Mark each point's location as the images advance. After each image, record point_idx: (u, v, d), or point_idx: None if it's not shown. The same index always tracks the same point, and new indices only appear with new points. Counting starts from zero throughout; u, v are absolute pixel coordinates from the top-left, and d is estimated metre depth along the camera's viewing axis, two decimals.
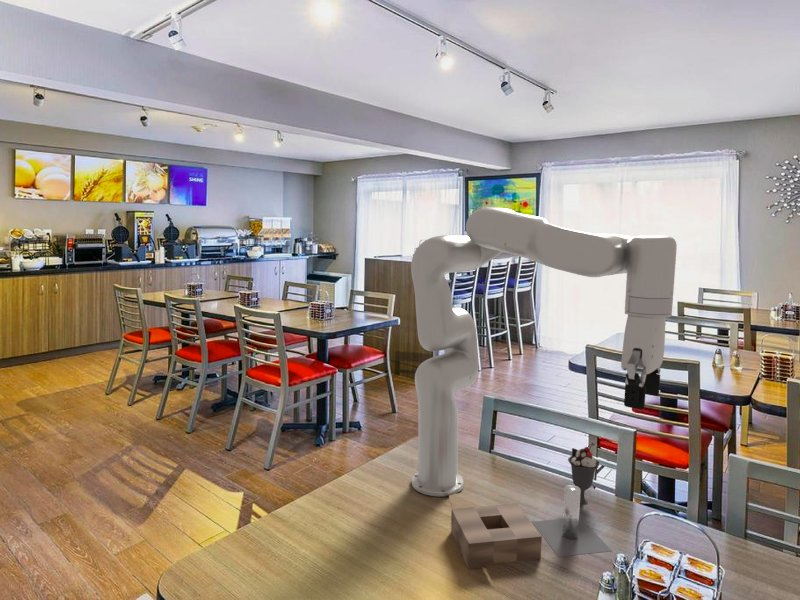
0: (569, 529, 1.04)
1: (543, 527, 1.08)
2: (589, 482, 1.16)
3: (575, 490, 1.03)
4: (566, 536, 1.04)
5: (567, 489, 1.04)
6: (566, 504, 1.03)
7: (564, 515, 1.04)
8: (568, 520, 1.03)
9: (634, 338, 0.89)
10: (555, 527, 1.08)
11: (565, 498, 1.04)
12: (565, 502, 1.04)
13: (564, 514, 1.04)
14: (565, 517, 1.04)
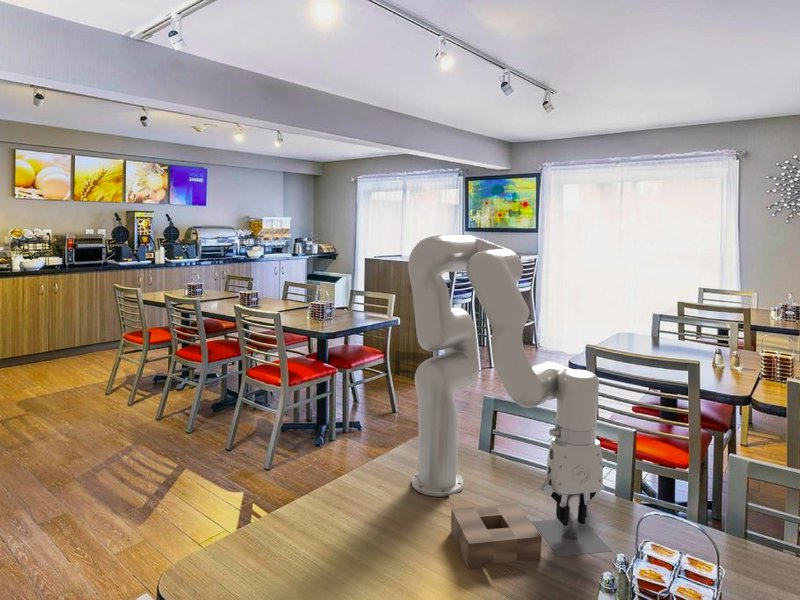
0: (569, 529, 1.04)
1: (543, 527, 1.08)
2: None
3: None
4: (566, 536, 1.04)
5: None
6: (566, 504, 1.03)
7: None
8: (568, 520, 1.03)
9: None
10: (555, 527, 1.08)
11: None
12: None
13: None
14: None
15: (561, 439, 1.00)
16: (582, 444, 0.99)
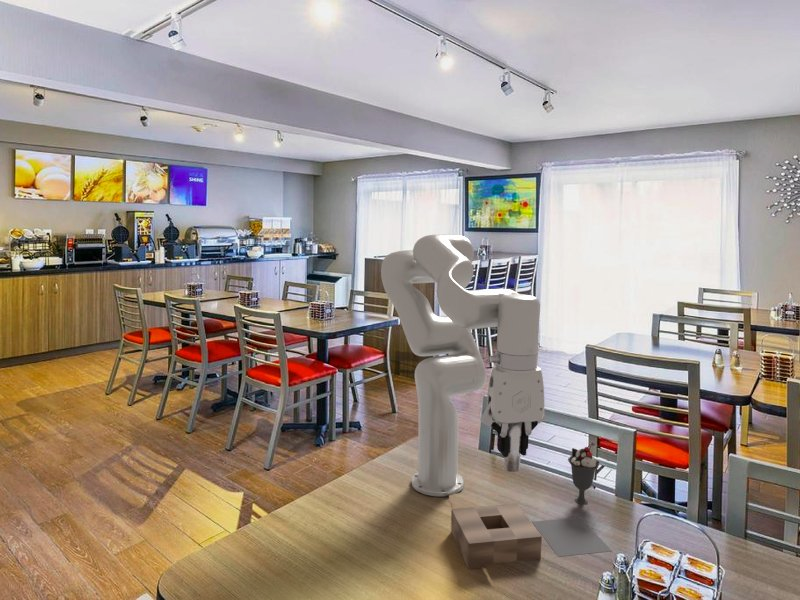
0: (510, 461, 1.00)
1: (543, 527, 1.08)
2: (589, 482, 1.16)
3: None
4: (507, 468, 1.00)
5: None
6: (507, 434, 0.99)
7: None
8: (509, 451, 0.99)
9: None
10: (555, 527, 1.08)
11: None
12: None
13: None
14: None
15: (501, 365, 0.96)
16: (522, 369, 0.95)
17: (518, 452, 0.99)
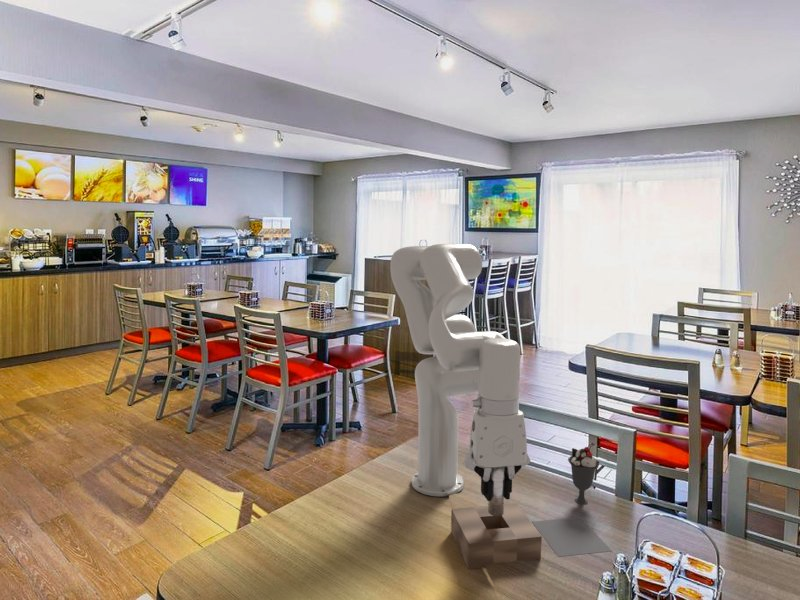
0: (493, 505, 1.00)
1: (543, 527, 1.08)
2: (589, 482, 1.16)
3: None
4: (491, 512, 1.00)
5: None
6: (490, 478, 1.00)
7: None
8: (492, 495, 1.00)
9: None
10: (555, 527, 1.08)
11: None
12: None
13: None
14: None
15: (482, 410, 0.97)
16: (502, 414, 0.95)
17: (501, 496, 1.00)
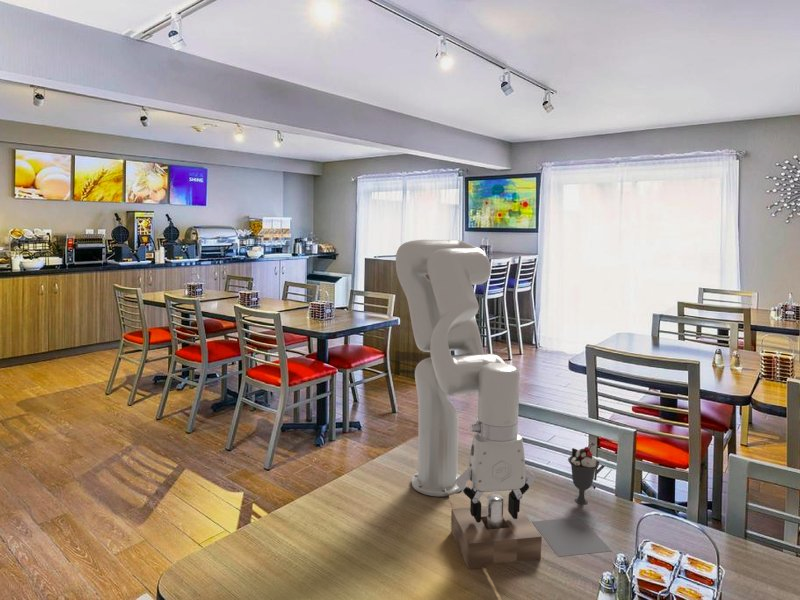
0: None
1: (543, 527, 1.08)
2: (589, 482, 1.16)
3: (497, 500, 1.01)
4: None
5: (490, 499, 1.01)
6: (489, 513, 1.01)
7: (487, 525, 1.02)
8: None
9: None
10: (555, 527, 1.08)
11: (488, 508, 1.01)
12: (488, 512, 1.01)
13: (487, 524, 1.02)
14: (488, 527, 1.01)
15: (481, 435, 0.98)
16: (501, 440, 0.96)
17: None
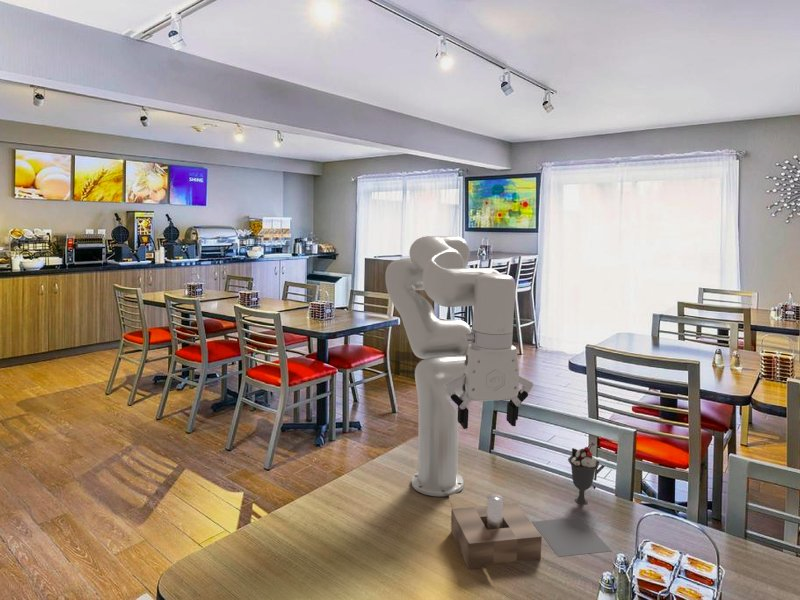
0: None
1: (543, 527, 1.08)
2: (589, 482, 1.16)
3: (497, 500, 1.01)
4: None
5: (490, 499, 1.01)
6: (489, 513, 1.01)
7: (487, 525, 1.02)
8: None
9: None
10: (555, 527, 1.08)
11: (488, 508, 1.01)
12: (488, 512, 1.01)
13: (487, 524, 1.02)
14: (488, 527, 1.01)
15: (475, 344, 0.97)
16: (496, 348, 0.95)
17: None
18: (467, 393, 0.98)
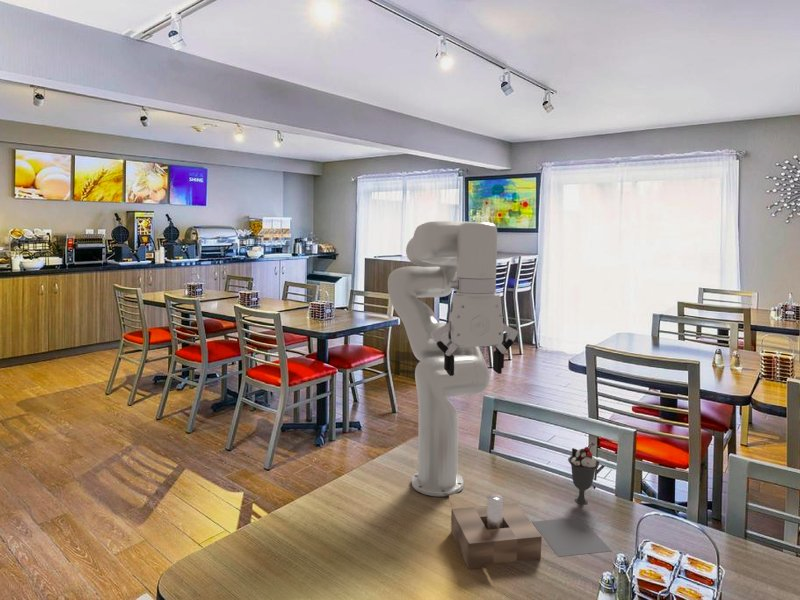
0: None
1: (543, 527, 1.08)
2: (589, 482, 1.16)
3: (497, 500, 1.01)
4: None
5: (490, 499, 1.01)
6: (489, 513, 1.01)
7: (487, 525, 1.02)
8: None
9: None
10: (555, 527, 1.08)
11: (488, 508, 1.01)
12: (488, 512, 1.01)
13: (487, 524, 1.02)
14: (488, 527, 1.01)
15: (459, 290, 0.99)
16: (479, 292, 0.98)
17: None
18: (452, 339, 1.00)
